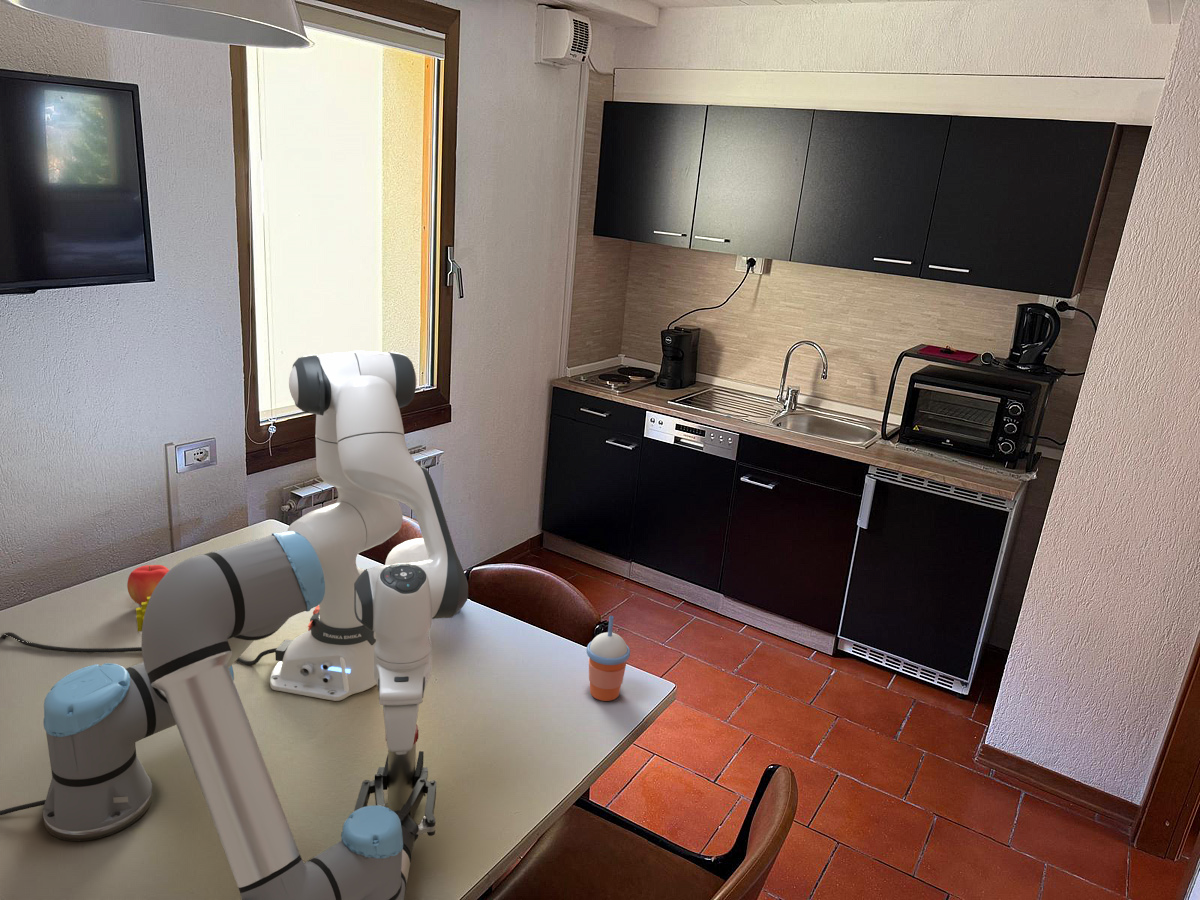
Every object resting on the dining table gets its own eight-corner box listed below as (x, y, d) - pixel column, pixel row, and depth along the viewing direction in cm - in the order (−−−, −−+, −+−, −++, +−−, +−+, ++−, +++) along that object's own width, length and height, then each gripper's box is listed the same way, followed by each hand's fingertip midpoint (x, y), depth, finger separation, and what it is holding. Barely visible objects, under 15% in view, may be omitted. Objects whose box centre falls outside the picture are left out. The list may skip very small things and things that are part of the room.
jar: (389, 800, 145) (390, 723, 141) (416, 800, 146) (417, 723, 141) (386, 819, 141) (386, 740, 136) (413, 818, 141) (414, 740, 137)
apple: (178, 610, 199) (175, 571, 196) (132, 618, 194) (128, 578, 191) (171, 592, 207) (168, 555, 204) (127, 600, 202) (123, 562, 199)
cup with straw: (621, 709, 175) (629, 631, 170) (578, 700, 177) (585, 623, 172) (629, 685, 184) (636, 610, 179) (588, 677, 185) (594, 603, 180)
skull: (448, 622, 203) (451, 561, 199) (372, 599, 211) (374, 540, 207) (477, 602, 215) (480, 543, 211) (405, 581, 223) (406, 524, 219)
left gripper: (323, 881, 125) (354, 775, 147) (444, 881, 126) (456, 776, 149) (322, 839, 122) (353, 738, 145) (445, 840, 124) (458, 739, 146)
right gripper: (385, 632, 144) (385, 703, 148) (378, 702, 125) (378, 781, 129) (423, 631, 145) (422, 701, 149) (422, 701, 126) (421, 779, 130)
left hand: (405, 757), depth 146 cm, fingers closed on jar, 4 cm apart
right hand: (402, 739), depth 139 cm, fingers closed on lid, 5 cm apart
